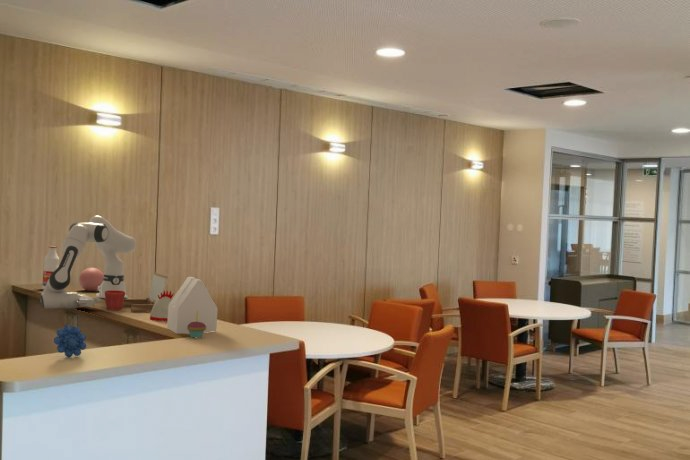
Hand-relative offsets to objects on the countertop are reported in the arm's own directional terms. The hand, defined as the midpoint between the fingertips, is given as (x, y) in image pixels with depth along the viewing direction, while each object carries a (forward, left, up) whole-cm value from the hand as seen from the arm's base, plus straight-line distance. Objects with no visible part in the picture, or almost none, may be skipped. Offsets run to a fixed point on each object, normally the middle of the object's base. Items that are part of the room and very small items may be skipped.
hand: (99, 300), depth 371 cm
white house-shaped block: (+71, +26, -5) cm, 76 cm away
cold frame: (+1, +22, -5) cm, 22 cm away
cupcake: (+89, +22, -5) cm, 92 cm away
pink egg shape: (-81, +16, -5) cm, 82 cm away
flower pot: (0, +8, -5) cm, 9 cm away
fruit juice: (-89, -10, -5) cm, 90 cm away
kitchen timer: (+37, +24, -5) cm, 44 cm away
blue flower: (+119, -38, -5) cm, 125 cm away
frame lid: (+1, +31, +7) cm, 32 cm away
